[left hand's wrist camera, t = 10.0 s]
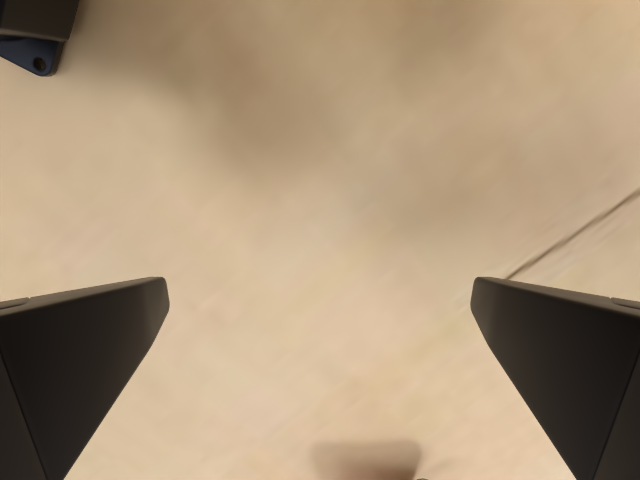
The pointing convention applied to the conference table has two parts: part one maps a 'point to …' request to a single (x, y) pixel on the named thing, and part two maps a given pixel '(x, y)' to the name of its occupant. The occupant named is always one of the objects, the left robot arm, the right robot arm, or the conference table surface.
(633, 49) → the conference table surface
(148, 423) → the conference table surface
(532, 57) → the conference table surface
